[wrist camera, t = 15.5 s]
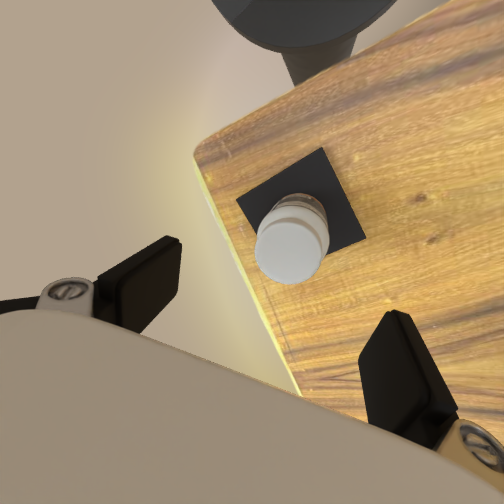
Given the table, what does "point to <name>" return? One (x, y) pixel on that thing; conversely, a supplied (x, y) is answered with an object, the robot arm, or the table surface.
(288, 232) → the pill bottle
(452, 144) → the table surface
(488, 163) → the table surface
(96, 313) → the robot arm
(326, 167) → the mat
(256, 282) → the table surface
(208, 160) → the table surface
